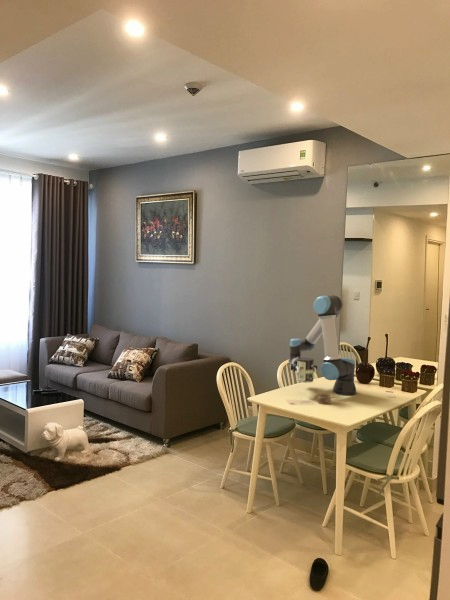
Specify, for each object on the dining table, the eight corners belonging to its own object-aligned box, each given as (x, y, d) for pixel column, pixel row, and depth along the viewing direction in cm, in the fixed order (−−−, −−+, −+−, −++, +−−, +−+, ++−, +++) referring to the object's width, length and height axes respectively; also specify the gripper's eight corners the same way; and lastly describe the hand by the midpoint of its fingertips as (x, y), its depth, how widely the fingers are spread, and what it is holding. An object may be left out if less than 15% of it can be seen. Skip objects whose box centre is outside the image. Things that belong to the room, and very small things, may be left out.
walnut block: (329, 401, 297) (329, 395, 297) (330, 405, 290) (330, 398, 290) (317, 401, 298) (318, 394, 298) (318, 404, 291) (318, 397, 291)
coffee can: (313, 379, 311) (314, 357, 310) (313, 383, 301) (313, 360, 300) (297, 378, 313) (297, 357, 312) (296, 382, 303) (296, 359, 302)
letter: (310, 400, 299) (310, 399, 299) (315, 405, 288) (315, 404, 288) (285, 400, 298) (285, 399, 298) (289, 405, 287) (289, 404, 287)
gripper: (282, 358, 323) (289, 364, 301) (315, 358, 325) (324, 364, 303) (281, 369, 323) (289, 376, 301) (314, 369, 325) (324, 376, 303)
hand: (307, 370), depth 302 cm, fingers closed on coffee can, 10 cm apart
